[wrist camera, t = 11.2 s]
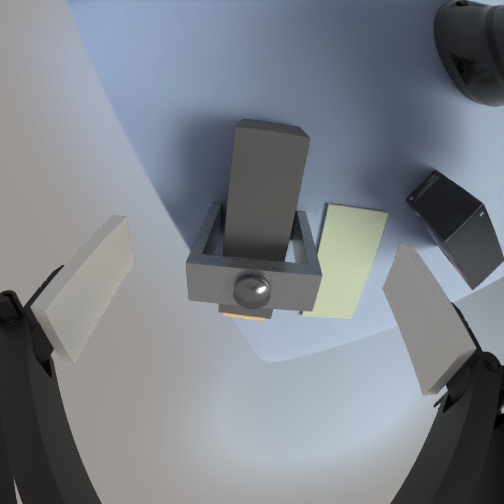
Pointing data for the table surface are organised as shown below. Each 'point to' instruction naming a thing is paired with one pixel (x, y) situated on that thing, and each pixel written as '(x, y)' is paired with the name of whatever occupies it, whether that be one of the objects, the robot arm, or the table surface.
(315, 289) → the frame
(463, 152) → the table surface
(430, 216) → the small box
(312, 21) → the table surface
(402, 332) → the robot arm
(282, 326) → the table surface
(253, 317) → the plug
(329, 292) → the mat
